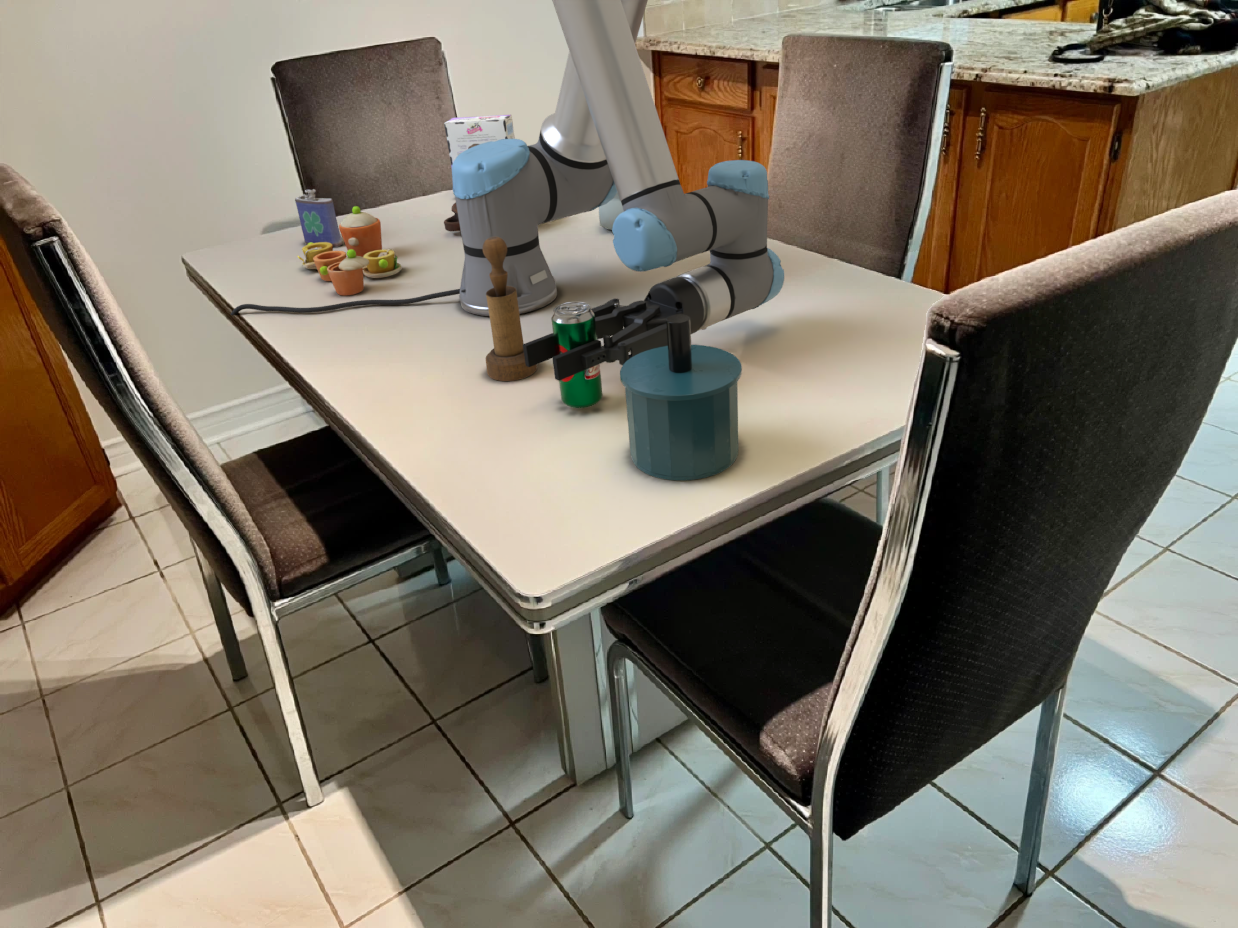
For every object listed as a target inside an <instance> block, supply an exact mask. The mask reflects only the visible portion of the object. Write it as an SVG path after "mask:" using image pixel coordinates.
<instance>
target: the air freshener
mask: <svg viewBox="0 0 1238 928" xmlns="http://www.w3.org/2000/svg"><path fill="white" fill-rule="evenodd" d="M622 212H624V210H623V206H622V203H621V201H620V198H619V195H618V192H617V193H616V195H615V196H614V198H613V199H612V200H611V201H609V202H608V203H607V204H605V205H603V206H600V207H598V220H599V226H601V227H602V228H605V229H607V230H609V231H612V228H613V224H614V221H615V219H616V218H617V216H618V215H619V214H621V213H622Z"/></svg>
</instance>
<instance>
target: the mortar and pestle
mask: <svg viewBox="0 0 1238 928" xmlns="http://www.w3.org/2000/svg"><path fill="white" fill-rule="evenodd" d="M483 253H484V255H485V257H486V258H487V260H488V261H489V262H490V264H491V266H492V271H491V273H490V274H489V276H490V279H491V282H492V284H493V286H494V288H492V289H490V290H488V291H487V292H486V298H487V304H488V310H489V316H488V317H489V321H490V329H491V335H492V343H493V348H491V350H490V351H489V352H488V353H487V354H486V355H485V365H486V366H485V367H486V373H487V375H488V377H489V378H490V379H492V380H495V381H501V382H511V381H520V380H522V379H523V380H524V379H526V378H528V377H530V376H532V375H533V374H535V373H536V372H537V370H538V364H536V365H534V366H531V367H528V366H526V365H525V357H524V350H523V344H525V343H524V337H523V329H522V324H521V316H520V315H521V314H519V307H518V300H517V292H516V288H514V287H512V286H506V285H507V276H508V274H507V271H505V270H504V269H503V262H504V259H505V257H506V254H507V245H506V243H505V241H504V240H503V239H502V238H500V237H491V238H488V239H487V240H485V242H484V244H483Z"/></svg>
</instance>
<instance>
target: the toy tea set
mask: <svg viewBox="0 0 1238 928" xmlns="http://www.w3.org/2000/svg"><path fill="white" fill-rule="evenodd" d="M338 228H339V231H340V236H341V238H342V239H343V240H342V241H343V242H344V245H345V247H346V250H347V251H344V250H334V247H333V245H332V244H331V243H328V242H318V243H312V242H310V243H308V245H307V244H305V245H304V246H303V247H302V248H301V250H302V253H303V255H304V258H305V259H303V258H302V257H300V256H299V255H297V258H298V260H300V261H301V262H302V267H303V268H304V269H308V270H317V272H318V274H319V277H320V279H321V280H322V281H323V282H324V281H325V282H331V283H332V286H333V288H334V290H335V292H336V294H337V295H339V296H353V295H356V294H360V293H361V292H362V291H363V290H364V289H365V281H364V276H365V277H367V278H374V279H381V278H388V277H392V276H394V275H396V274H398V273H399V272H400V271H402V265H401V263H399V262H398V256H397V254H396V252H395V251H394V249H392V248H388V249H383V241H382V240H383V239H382V223H381V220H380V219H379V218H378V217H375V216H374V215H372V214H370V213H368V212H366V211H361V208H360V206H357V205H354V206H353V207H352V209H351V213H349V214H348V215H346V216H345V217H344V218H343V219H342V221H341V223H339V224H338Z"/></svg>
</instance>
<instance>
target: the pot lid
mask: <svg viewBox="0 0 1238 928" xmlns="http://www.w3.org/2000/svg"><path fill="white" fill-rule="evenodd" d="M666 325H667V343H668V346H664V347H658V348H654V349H650V350H647V351H644V352H642V353H639V354H637V355H635V356H633V357H632V358H630V359H629V360H627V361H626V362H625V363H624V364H623V365H621V368H620V370H619V378H620V382H621V384H622V385H623V386H624V388H625V387H626V388H627V389H628V390H629V391H631V392H633V393H635V394H637V395H640V396H643V397H647V398H651V399H658V400H669V401H680V400H692V399H699V398H704V397H708V396H712V395H715V394H718V393H720V392H723V391H725V390H727V389H729V388H730V387H732V386H733V385H734V384H736V383H737V384H738V382H739V380H740V379H741V377H742V374H743V366H742V362H741V360H740V359H739V358H738V356H735V354H734V353H731V352H729V351H727V350H725V349H721V348H719V347H714V346H711V345H705V344H704V345H703V344H692V334H691V329H690V317H689V316H687V315H682V314H677V315H672V316H669V317H668V318H667V319H666Z"/></svg>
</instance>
